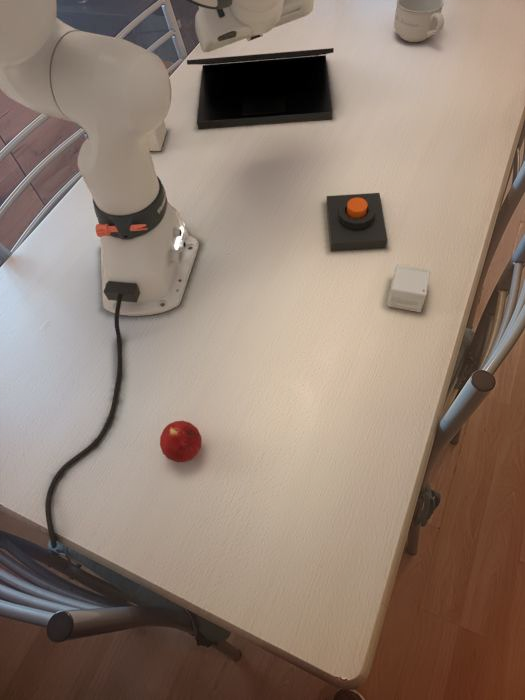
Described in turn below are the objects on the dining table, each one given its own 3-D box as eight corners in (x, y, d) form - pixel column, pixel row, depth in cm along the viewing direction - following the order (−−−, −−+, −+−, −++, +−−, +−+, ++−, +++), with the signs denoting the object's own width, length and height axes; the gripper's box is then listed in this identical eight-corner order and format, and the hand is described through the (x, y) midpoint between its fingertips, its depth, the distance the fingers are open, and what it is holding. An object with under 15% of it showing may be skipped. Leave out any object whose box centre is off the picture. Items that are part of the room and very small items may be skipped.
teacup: (385, 30, 126) (389, -6, 119) (424, 19, 127) (431, -16, 120) (409, 58, 119) (415, 23, 112) (451, 47, 120) (459, 11, 113)
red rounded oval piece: (206, 430, 76) (195, 409, 69) (205, 467, 73) (194, 449, 66) (168, 432, 76) (154, 412, 69) (165, 470, 73) (150, 452, 66)
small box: (425, 286, 86) (431, 268, 81) (420, 313, 83) (426, 296, 79) (391, 280, 87) (396, 262, 83) (386, 307, 84) (390, 289, 80)
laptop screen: (333, 53, 101) (333, 47, 100) (187, 65, 103) (186, 60, 102) (325, 54, 120) (325, 50, 119) (202, 65, 122) (202, 60, 121)
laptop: (332, 119, 110) (332, 111, 109) (198, 129, 112) (196, 121, 111) (325, 62, 121) (325, 54, 120) (203, 72, 123) (202, 64, 122)
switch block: (385, 248, 91) (388, 232, 87) (330, 251, 91) (331, 236, 88) (378, 201, 97) (380, 185, 93) (326, 204, 97) (326, 188, 94)
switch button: (367, 218, 90) (368, 211, 88) (347, 219, 90) (348, 212, 89) (365, 203, 92) (366, 196, 90) (345, 205, 92) (346, 197, 90)
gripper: (312, -47, 76) (302, -5, 90) (187, 0, 77) (195, 35, 90) (325, -3, 78) (313, 32, 91) (201, 43, 78) (207, 71, 92)
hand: (253, 34), depth 91 cm, fingers closed
